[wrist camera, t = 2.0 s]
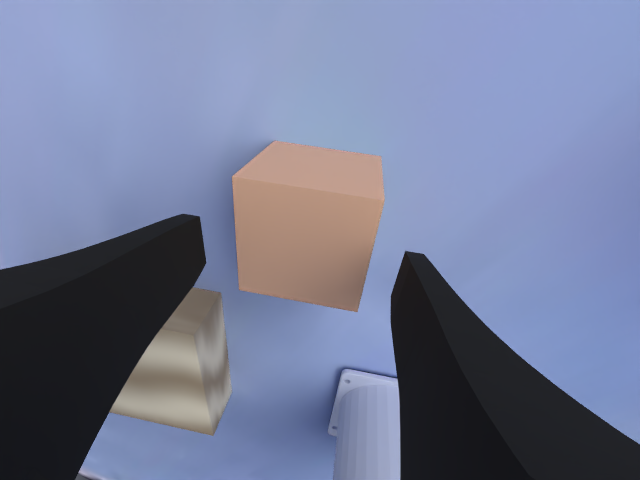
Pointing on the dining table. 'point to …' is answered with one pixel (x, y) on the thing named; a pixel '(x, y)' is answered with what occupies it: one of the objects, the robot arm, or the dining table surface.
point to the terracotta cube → (307, 223)
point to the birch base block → (183, 369)
